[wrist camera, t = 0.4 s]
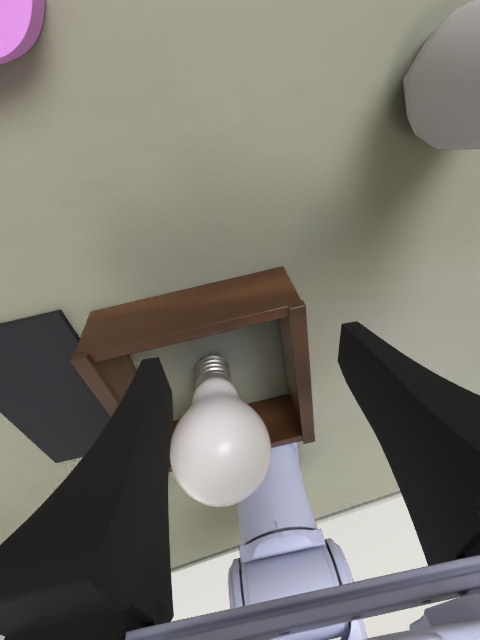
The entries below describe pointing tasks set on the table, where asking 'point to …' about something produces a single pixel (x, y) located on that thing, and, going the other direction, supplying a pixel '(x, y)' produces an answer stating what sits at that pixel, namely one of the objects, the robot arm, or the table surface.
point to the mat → (48, 387)
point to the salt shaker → (447, 83)
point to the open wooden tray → (198, 321)
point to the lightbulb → (219, 441)
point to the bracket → (19, 27)
